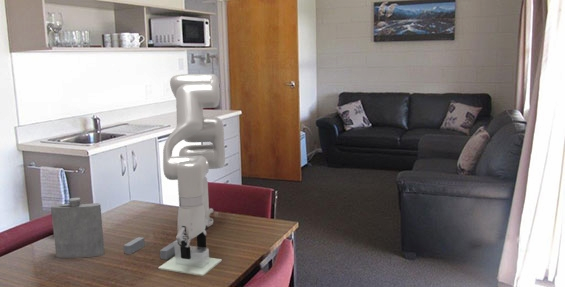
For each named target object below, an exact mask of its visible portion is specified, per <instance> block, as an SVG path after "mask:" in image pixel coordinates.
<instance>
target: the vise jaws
mask: <svg viewBox="0 0 565 287" xmlns="http://www.w3.org/2000/svg"><path fill="white" fill-rule="evenodd" d="M145 242H146V241H145V237H140V236H137V237H136V238H134V239H132V240H131V241H129V242H127V243H125V244H123V253H124V254H126V255H132V254H134V253H135V252H136V251H139V250H141V249H142V248H144V247H145V246H146V243H145ZM159 254H160V256H159V257H160V259H161V260H165V261H166V260H167V261H169V260H170V259H172V258H173V257H174V256H175V247H174V241H172V242H171V243H169V244H168V245H166V246H164V247H163V248H162V249H160V250H159Z"/></svg>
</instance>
